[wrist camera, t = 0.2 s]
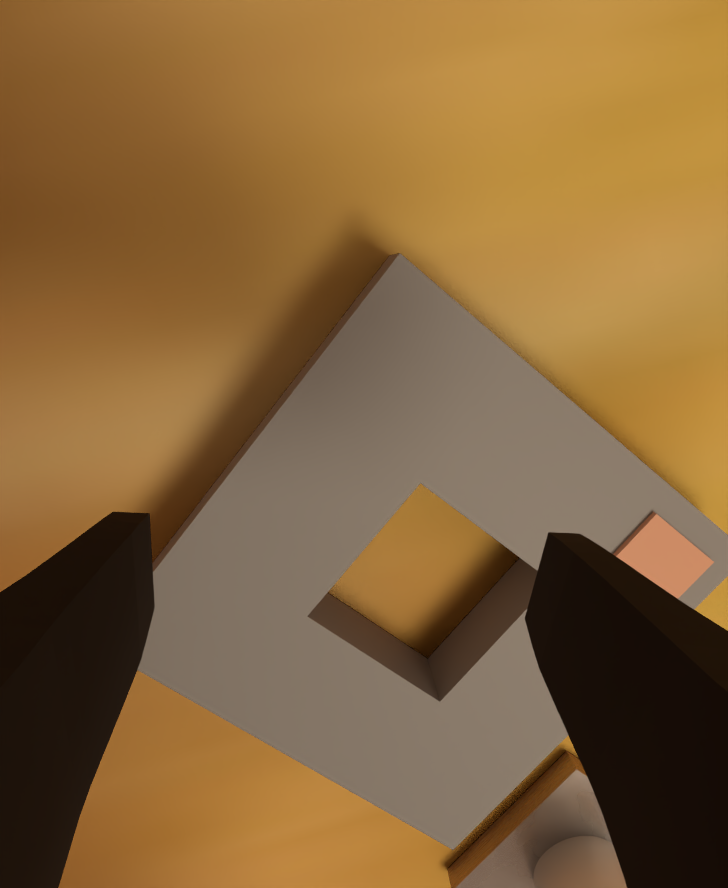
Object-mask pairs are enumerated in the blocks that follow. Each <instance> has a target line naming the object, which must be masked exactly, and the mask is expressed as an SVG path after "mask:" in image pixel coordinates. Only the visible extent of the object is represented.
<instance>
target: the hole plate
mask: <svg viewBox="0 0 728 888" xmlns="http://www.w3.org/2000/svg"><path fill="white" fill-rule="evenodd" d="M420 483H421V484H422V485H424V486H425V487H426V488H428V489H429V490H430V491H432V492H433V493H434V494H436V495H437V496H438V497H440V498H441V499H442V500H444V501H445V502H446V503H448V504H449V505H450V506H452V507H453V508H454V509H456V510H457V511H458V512H460V513H461V514H462V515H464V516H465V517H466V518H468V519H469V520H470V521H472V522H473V523H474V524H476V525H477V526H478V527H480V528H481V529H482V530H484V531H485V532H486V533H488V534H489V535H490V536H492V537H493V538H494V539H496V540H497V541H498V542H500V543H501V544H502V545H504V546H505V547H506V548H508V549H509V550H510V551H512V552H513V553H514V554H516V555H517V556H518V557H520V558H519V559H518V560H517V561H516V562H515V564H514V565H513V566H512V567H511V568H510V569H509V570H508V571H507V572H506V573H505V574H504V576H503V577H502V578H501V579H500V580H499V581H498V582H497V583H496V584H495V585H494V587H493V588H492V589H491V590H490V591H489V592H488V593H487V594H486V595H485V596H484V597H483V599H482V600H481V601H480V602H479V603H478V604H477V605H476V606H475V607H474V608H473V610H472V611H471V612H470V613H469V614H468V615H467V616H466V617H465V618H464V619H463V620H462V622H461V623H460V624H459V625H458V626H457V627H456V628H455V629H454V630H453V631H452V633H451V634H450V635H449V636H448V637H447V638H446V639H445V640H444V641H443V642H442V643H441V645H440V646H439V647H438V648H437V649H436V650H435V651H434V652H433V653H432V654H431V656H430V657H429V658H428V659H427V658H426V657H424V656H423V655H421V654H419V653H418V652H416V651H415V650H413V649H412V648H410V647H409V646H407V645H406V644H404V643H403V642H401V641H400V640H398V639H397V638H395V637H394V636H392V635H391V634H389V633H388V632H386V631H385V630H383V629H382V628H380V627H379V626H377V625H376V624H374V623H373V622H371V621H370V620H368V619H367V618H365V617H364V616H362V615H361V614H359V613H358V612H356V611H355V610H353V609H352V608H350V607H348V606H347V605H345V604H344V603H342V602H341V601H339V600H338V599H336V598H335V597H333V596H332V595H330V594H329V593H327V592H328V591H329V590H330V589H331V588H332V587H333V585H334V584H335V583H336V582H337V581H338V580H339V578H340V577H341V576H342V575H343V574H344V572H345V571H346V570H347V569H348V568H349V567H350V565H351V564H352V563H353V562H354V561H355V559H356V558H357V557H358V556H359V555H360V554H361V552H362V551H363V550H364V549H365V548H366V547H367V545H368V544H369V543H370V542H371V541H372V539H373V538H374V537H375V536H376V535H377V534H378V532H379V531H380V530H381V529H382V528H383V527H384V525H385V524H386V523H387V522H388V521H389V519H390V518H391V517H392V516H393V515H394V514H395V512H396V511H397V510H398V509H399V508H400V506H401V505H402V504H403V503H404V502H405V501H406V499H407V498H408V497H409V496H410V495H411V494H412V492H413V491H414V490H415V489H416V488H417V486H418V485H419V484H420ZM548 532H556V533H578V534H581V535H583V536H585V537H587V538H588V539H590V540H592V541H593V542H595V543H597V544H598V545H600V546H601V547H603V548H604V549H606V550H607V551H609V552H610V553H612V554H613V555H615V556H616V557H618V558H619V559H621V560H622V561H623V562H625V563H626V564H628V565H629V566H631V567H632V568H634V569H635V570H636V571H638V572H639V573H641V574H642V575H644V576H645V577H647V578H648V579H649V580H651V581H652V582H654V583H655V584H657V585H658V586H660V587H661V588H662V589H664V590H665V591H667V592H668V593H670V594H671V595H673V596H674V597H676V598H677V599H679V600H680V601H682V602H683V603H685V604H686V605H688V606H689V607H691V608H692V609H695V608H696V607H697V606H698V605H699V604H700V603H701V602H702V601H703V600H704V599H705V598H706V597H707V596H708V595H709V594H710V593H711V592H712V591H713V590H714V589H715V588H716V587H717V586H718V585H719V584H720V583H721V582H722V581H723V580H724V579H725V578H726V577H727V576H728V535H727V534H726V533H725V532H724V531H722V530H721V529H720V528H719V527H718V526H717V525H715V524H714V523H713V522H712V521H711V520H710V519H708V518H707V517H706V516H705V515H704V514H703V513H701V512H700V511H699V510H698V509H697V508H696V507H694V506H693V505H692V504H691V503H690V502H689V501H687V500H686V499H685V498H684V497H683V496H682V495H680V494H679V493H678V492H677V491H676V490H675V489H674V488H672V487H671V486H670V485H669V484H668V483H667V482H665V481H664V480H663V479H662V478H661V477H660V476H658V475H657V474H656V473H655V472H654V471H653V470H651V469H650V468H649V467H648V466H647V465H646V464H644V463H643V462H642V461H641V460H640V459H639V458H637V457H636V456H635V455H634V454H633V453H632V452H631V451H629V450H628V449H627V448H626V447H625V446H624V445H622V444H621V443H620V442H619V441H618V440H617V439H615V438H614V437H613V436H612V435H611V434H610V433H608V432H607V431H606V430H605V429H604V428H603V427H601V426H600V425H599V424H598V423H597V422H596V421H594V420H593V419H592V418H591V417H590V416H589V415H587V414H586V413H585V412H584V411H583V410H582V409H581V408H579V407H578V406H577V405H576V404H575V403H574V402H572V401H571V400H570V399H569V398H568V397H567V396H565V395H564V394H563V393H562V392H561V391H560V390H558V389H557V388H556V387H555V386H554V385H553V384H551V383H550V382H549V381H548V380H547V379H546V378H544V377H543V376H542V375H541V374H540V373H539V372H537V371H536V370H535V369H534V368H533V367H532V366H531V365H529V364H528V363H527V362H526V361H525V360H524V359H522V358H521V357H520V356H519V355H518V354H517V353H515V352H514V351H513V350H512V349H511V348H510V347H508V346H507V345H506V344H505V343H504V342H503V341H501V340H500V339H499V338H498V337H497V336H496V335H494V334H493V333H492V332H491V331H490V330H489V329H487V328H486V327H485V326H484V325H483V324H482V323H481V322H479V321H478V320H477V319H476V318H475V317H474V316H472V315H471V314H470V313H469V312H468V311H467V310H465V309H464V308H463V307H462V306H461V305H460V304H458V303H457V302H456V301H455V300H454V299H453V298H451V297H450V296H449V295H448V294H447V293H446V292H444V291H443V290H442V289H441V288H440V287H439V286H437V285H436V284H435V283H434V282H433V281H432V280H431V279H429V278H428V277H427V276H426V275H425V274H424V273H422V272H421V271H420V270H419V269H418V268H417V267H415V266H414V265H413V264H412V263H411V262H410V261H408V260H407V259H406V258H405V257H404V256H403V255H401V254H400V253H399V254H394V255H390V256H389V257H388V258H387V260H386V261H385V262H384V263H383V265H382V266H381V267H380V269H379V270H378V271H377V273H376V274H375V275H374V276H373V278H372V279H371V280H370V282H369V283H368V284H367V286H366V287H365V288H364V289H363V291H362V292H361V293H360V295H359V296H358V297H357V298H356V300H355V301H354V302H353V304H352V305H351V306H350V308H349V309H348V310H347V311H346V313H345V314H344V315H343V317H342V318H341V319H340V321H339V322H338V323H337V324H336V326H335V327H334V328H333V330H332V331H331V332H330V334H329V335H328V336H327V337H326V339H325V340H324V341H323V343H322V344H321V345H320V347H319V348H318V349H317V350H316V352H315V353H314V354H313V356H312V357H311V358H310V359H309V361H308V362H307V363H306V365H305V366H304V367H303V369H302V370H301V371H300V372H299V374H298V375H297V376H296V378H295V379H294V380H293V382H292V383H291V384H290V385H289V387H288V388H287V389H286V391H285V392H284V393H283V395H282V396H281V397H280V398H279V400H278V401H277V402H276V404H275V405H274V406H273V408H272V409H271V410H270V411H269V413H268V414H267V415H266V417H265V418H264V419H263V421H262V422H261V423H260V424H259V426H258V427H257V428H256V430H255V431H254V432H253V433H252V435H251V436H250V437H249V439H248V440H247V441H246V443H245V444H244V445H243V446H242V448H241V449H240V450H239V452H238V453H237V454H236V456H235V457H234V458H233V459H232V461H231V462H230V463H229V465H228V466H227V467H226V469H225V470H224V471H223V472H222V474H221V475H220V476H219V478H218V479H217V480H216V482H215V483H214V484H213V485H212V487H211V488H210V489H209V491H208V492H207V493H206V494H205V496H204V497H203V498H202V500H201V501H200V502H199V504H198V505H197V506H196V507H195V509H194V510H193V511H192V513H191V514H190V515H189V517H188V518H187V519H186V520H185V522H184V523H183V524H182V526H181V527H180V528H179V530H178V531H177V532H176V533H175V535H174V536H173V537H172V539H171V540H170V541H169V543H168V544H167V545H166V546H165V548H164V549H163V550H162V552H161V553H160V554H159V556H158V557H157V558H156V559H155V561H154V562H153V563H152V567H153V585H154V602H155V609H154V613H153V617H152V621H151V625H150V628H149V632H148V636H147V640H146V644H145V647H144V651H143V655H142V658H141V661H140V664H139V667H138V669H137V670H139V671H140V672H142V673H144V674H146V675H147V676H149V677H151V678H153V679H154V680H156V681H158V682H160V683H161V684H163V685H165V686H167V687H168V688H170V689H172V690H174V691H175V692H177V693H179V694H181V695H182V696H184V697H186V698H188V699H189V700H191V701H193V702H195V703H196V704H198V705H200V706H202V707H203V708H205V709H207V710H209V711H211V712H212V713H214V714H216V715H218V716H219V717H221V718H223V719H225V720H226V721H228V722H230V723H232V724H233V725H235V726H237V727H239V728H240V729H242V730H244V731H246V732H247V733H249V734H251V735H253V736H254V737H256V738H258V739H260V740H261V741H263V742H265V743H267V744H268V745H270V746H272V747H274V748H275V749H277V750H279V751H281V752H282V753H284V754H286V755H288V756H289V757H291V758H293V759H295V760H296V761H298V762H300V763H302V764H303V765H305V766H307V767H309V768H310V769H312V770H314V771H316V772H317V773H319V774H321V775H323V776H324V777H326V778H328V779H330V780H331V781H333V782H335V783H337V784H338V785H340V786H342V787H344V788H345V789H347V790H349V791H351V792H352V793H354V794H356V795H358V796H360V797H361V798H363V799H365V800H367V801H368V802H370V803H372V804H374V805H375V806H377V807H379V808H381V809H382V810H384V811H386V812H388V813H389V814H391V815H393V816H395V817H396V818H398V819H400V820H402V821H403V822H405V823H407V824H409V825H410V826H412V827H414V828H416V829H417V830H419V831H421V832H423V833H424V834H426V835H428V836H430V837H431V838H433V839H435V840H437V841H438V842H440V843H442V844H444V845H445V846H447V847H449V848H451V849H452V850H454V849H455V848H456V847H457V846H458V845H459V844H460V843H461V842H462V841H463V840H464V839H465V838H466V837H467V836H468V835H469V834H470V833H471V832H472V831H473V830H474V829H475V828H476V827H477V826H478V825H479V824H480V823H481V822H482V821H483V820H484V819H485V818H486V817H487V816H488V815H489V814H490V813H491V812H492V811H493V810H494V809H495V808H496V807H497V806H498V805H499V804H500V803H501V802H502V801H503V800H504V799H505V798H506V797H507V796H508V795H509V794H510V793H511V792H512V791H513V790H514V789H515V788H516V787H517V786H518V785H519V784H520V783H521V782H522V781H523V780H524V779H525V778H526V777H527V776H528V775H529V774H530V773H531V772H532V771H533V770H534V769H535V768H536V767H537V766H538V765H539V764H540V763H541V762H542V761H543V760H544V759H545V758H546V757H547V756H548V755H549V754H550V753H551V752H552V751H553V750H554V749H555V748H556V747H557V746H558V745H559V744H560V743H561V742H562V741H563V740H564V739H565V738H566V737H567V736H568V733H567V731H566V729H565V726H564V724H563V722H562V720H561V717H560V715H559V713H558V711H557V709H556V706H555V704H554V702H553V699H552V697H551V695H550V693H549V690H548V688H547V686H546V683H545V681H544V679H543V676H542V674H541V672H540V669H539V667H538V663H537V660H536V657H535V654H534V650H533V647H532V644H531V640H530V636H529V633H528V629H527V625H526V622H525V615H526V612H527V608H528V604H529V601H530V597H531V593H532V590H533V586H534V582H535V579H536V575H537V571H538V568H539V564H540V561H541V557H542V553H543V550H544V546H545V542H546V539H547V535H548Z"/></svg>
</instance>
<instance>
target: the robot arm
mask: <svg viewBox="0 0 728 888" xmlns="http://www.w3.org/2000/svg"><path fill="white" fill-rule="evenodd" d="M154 609H155V602H154V585H153V567H152V549H151V531H150V514H149V513H127V512H112V513H111V514H109V515H108V516H106V517H105V518H103V519H102V520H101V521H99V522H98V523H97V524H95V525H94V526H93V527H91V528H90V529H89V530H87V531H86V532H85V533H83V534H82V535H81V536H79V537H78V538H77V539H75V540H74V541H73V542H71V543H70V544H69V545H67V546H66V547H65V548H63V549H62V550H60V551H59V552H58V553H56V554H55V555H53V556H52V557H51V558H49V559H48V560H47V561H45V562H44V563H42V564H41V565H40V566H38V567H37V568H36V569H34V570H33V571H31V572H30V573H29V574H27V575H26V576H24V577H23V578H21V579H20V580H18V581H17V582H15V583H14V584H12V585H11V586H9V587H8V588H6V589H5V590H3V591H2V592H0V888H58V887H59V883H60V880H61V877H62V873H63V870H64V867H65V863H66V860H67V857H68V853H69V850H70V847H71V843H72V840H73V837H74V833H75V830H76V827H77V823H78V820H79V817H80V814H81V811H82V808H83V805H84V803H85V800H86V797H87V794H88V792H89V789H90V786H91V784H92V781H93V779H94V776H95V774H96V771H97V769H98V766H99V764H100V761H101V759H102V756H103V754H104V751H105V749H106V746H107V744H108V742H109V739H110V737H111V734H112V732H113V729H114V727H115V724H116V722H117V719H118V717H119V714H120V712H121V709H122V707H123V705H124V702H125V700H126V697H127V695H128V692H129V689H130V687H131V684H132V682H133V679H134V677H135V674H136V672H137V669H138V667H139V664H140V661H141V658H142V655H143V651H144V647H145V644H146V640H147V636H148V632H149V628H150V625H151V621H152V617H153V613H154ZM525 622H526V625H527V629H528V633H529V636H530V640H531V644H532V647H533V650H534V654H535V657H536V660H537V663H538V667H539V669H540V672H541V674H542V676H543V679H544V681H545V683H546V686H547V688H548V690H549V693H550V695H551V697H552V699H553V702H554V704H555V706H556V709H557V711H558V713H559V715H560V717H561V720H562V722H563V724H564V726H565V729H566V731H567V733H568V735H569V737H570V740H571V742H572V744H573V746H574V749H575V751H576V753H577V755H578V757H579V760H580V762H581V764H582V766H583V769H584V771H585V773H586V775H587V777H588V780H589V782H590V784H591V787H592V789H593V791H594V794H595V796H596V799H597V801H598V804H599V806H600V809H601V811H602V814H603V817H604V820H605V823H606V826H607V829H608V832H609V835H610V838H611V841H612V843H613V846H614V849H615V852H616V855H617V858H618V861H619V864H620V867H621V870H622V873H623V876H624V879H625V883H626V886H627V888H728V631H727V630H725V629H724V628H722V627H721V626H719V625H717V624H716V623H714V622H712V621H711V620H709V619H708V618H706V617H705V616H703V615H701V614H700V613H698V612H697V611H695V610H694V609H692V608H691V607H689V606H688V605H686V604H685V603H683V602H682V601H680V600H679V599H677V598H676V597H674V596H673V595H671V594H670V593H668V592H667V591H665V590H664V589H662V588H661V587H660V586H658V585H657V584H655V583H654V582H652V581H651V580H649V579H648V578H647V577H645V576H644V575H642V574H641V573H639V572H638V571H636V570H635V569H634V568H632V567H631V566H629V565H628V564H626V563H625V562H623V561H622V560H621V559H619V558H618V557H616V556H615V555H613V554H612V553H610V552H609V551H607V550H606V549H604V548H603V547H601V546H600V545H598V544H597V543H595V542H593V541H592V540H590V539H588V538H587V537H585V536H583V535H581V534H578V533H556V532H548V535H547V539H546V542H545V546H544V550H543V553H542V557H541V561H540V564H539V568H538V571H537V575H536V579H535V582H534V586H533V590H532V593H531V597H530V601H529V604H528V608H527V612H526V615H525Z"/></svg>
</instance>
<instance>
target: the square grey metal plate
mask: <svg viewBox="0 0 728 888" xmlns="http://www.w3.org/2000/svg"><path fill="white" fill-rule="evenodd" d="M576 836H595V837H600V838H602V839H605V840H607V841H609V842H610V843H611V844H613V843H612V841H611V838H610V835H609V832H608V829H607V826H606V823H605V820H604V817H603V814H602V811H601V809H600V806H599V804H598V801H597V799H596V796H595V794H594V791H593V789H592V787H591V784H590V782H589V780H588V777H587V775H586V773H585V771H584V769H583V766H582V764H581V762H580V760H579V759H578V758H577V757H575V756H574V755H572V754H571V753H569V752H568V751H566V752H565V753H564V754H563V755H562V756H561V757H560V758H559V759H558V760H557V761H556V762H555V763H554V764H553V765H552V766H551V767H550V768H549V769H548V770H547V771H546V772H545V773H544V774H543V775H542V776H541V777H540V778H539V779H538V780H537V781H536V782H535V783H534V784H533V785H532V786H531V787H530V788H529V789H528V790H527V791H526V792H525V793H524V794H523V795H522V796H521V797H520V798H519V799H518V800H517V801H516V802H515V803H514V804H513V805H512V806H511V807H510V808H509V809H508V810H507V811H506V812H505V813H504V814H503V815H502V816H500V817H499V818H498V819H497V820H496V821H495V822H494V823H493V824H492V825H491V826H490V827H489V828H488V829H487V830H486V831H485V832H484V833H483V834H482V835H481V836H480V837H479V838H478V839H477V840H476V841H475V842H474V843H473V844H472V845H471V846H470V847H469V848H468V849H467V850H466V851H465V852H464V853H463V854H462V855H461V856H460V857H459V858H458V859H457V860H456V861H455V862H454V863H453V864H452V865H451V866H450V867H449V868H448V869H447V870H448V875H449V879H450V884H451V888H536V887H535V884H534V879H533V875H534V869H535V866H536V864H537V862H538V860H539V859H540V857H541V856H542V855H543V854H544V853H545V852H546V851H547V850H548V849H549V848H551V847H552V846H553V845H555V844H557V843H559V842H561V841H563V840H565V839H568V838H572V837H576Z"/></svg>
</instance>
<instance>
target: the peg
mask: <svg viewBox="0 0 728 888" xmlns="http://www.w3.org/2000/svg"><path fill="white" fill-rule="evenodd" d="M533 879H534V884H535V887H536V888H627V886H626V883H625V879H624V876H623V873H622V870H621V867H620V864H619V861H618V858H617V855H616V852H615V849H614V846H613V844H611V843H610V842H609V841H607V840H605V839H602V838H600V837H595V836H576V837H572V838H568V839H565V840H563V841H561V842H559V843H557V844H555V845H553V846H552V847H551V848H549V849H548V850H547V851H546V852H545V853H544V854H543V855H542V856H541V857H540V859H539V860H538V862H537V864H536V866H535V869H534V875H533Z"/></svg>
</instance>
